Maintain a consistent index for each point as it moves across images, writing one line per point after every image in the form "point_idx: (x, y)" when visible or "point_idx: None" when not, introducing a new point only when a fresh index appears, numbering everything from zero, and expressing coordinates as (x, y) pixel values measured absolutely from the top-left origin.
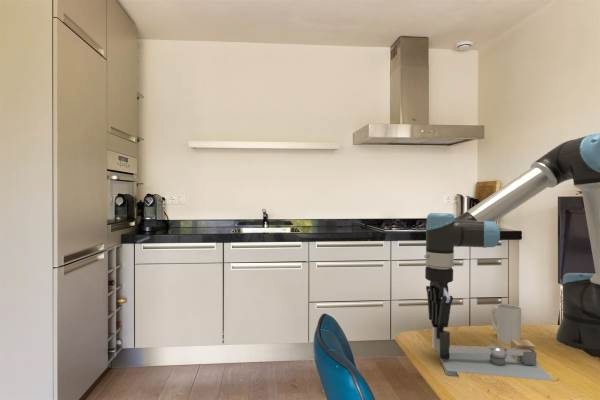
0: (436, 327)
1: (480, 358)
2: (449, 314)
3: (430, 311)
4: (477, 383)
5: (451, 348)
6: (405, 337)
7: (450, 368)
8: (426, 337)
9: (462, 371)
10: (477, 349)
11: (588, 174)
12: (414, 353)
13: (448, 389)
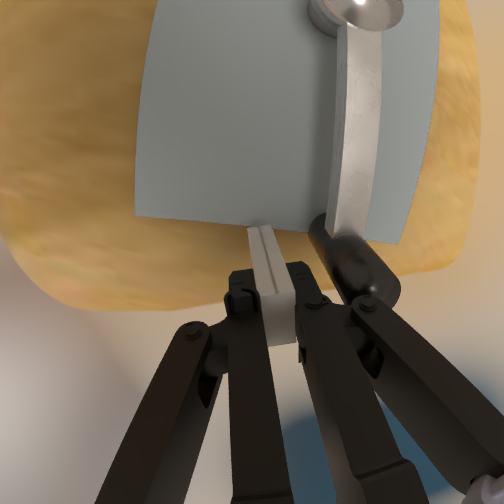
0: (294, 328)
1: (295, 57)
2: (450, 363)
3: (209, 415)
4: (439, 164)
5: (363, 226)
6: (73, 295)
7: (387, 226)
8: (44, 221)
9: (410, 194)
10: (379, 95)
11: None
12: (218, 298)
13: (447, 255)
